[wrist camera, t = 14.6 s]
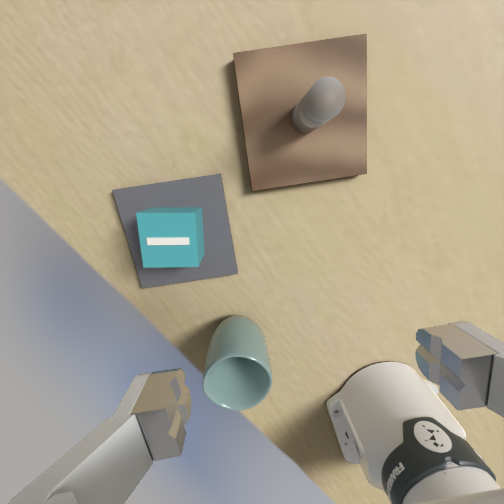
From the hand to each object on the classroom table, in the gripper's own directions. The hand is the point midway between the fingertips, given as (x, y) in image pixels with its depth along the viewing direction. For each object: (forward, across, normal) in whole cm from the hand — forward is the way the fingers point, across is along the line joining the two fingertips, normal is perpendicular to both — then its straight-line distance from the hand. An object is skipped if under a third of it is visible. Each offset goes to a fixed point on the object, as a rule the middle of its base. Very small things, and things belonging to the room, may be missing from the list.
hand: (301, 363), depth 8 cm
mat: (+25, +10, -2) cm, 27 cm away
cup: (+25, +5, +15) cm, 30 cm away
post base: (+24, -7, -12) cm, 28 cm away
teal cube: (+24, +10, -2) cm, 26 cm away
